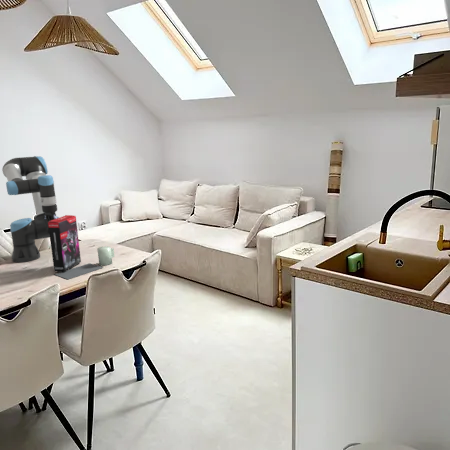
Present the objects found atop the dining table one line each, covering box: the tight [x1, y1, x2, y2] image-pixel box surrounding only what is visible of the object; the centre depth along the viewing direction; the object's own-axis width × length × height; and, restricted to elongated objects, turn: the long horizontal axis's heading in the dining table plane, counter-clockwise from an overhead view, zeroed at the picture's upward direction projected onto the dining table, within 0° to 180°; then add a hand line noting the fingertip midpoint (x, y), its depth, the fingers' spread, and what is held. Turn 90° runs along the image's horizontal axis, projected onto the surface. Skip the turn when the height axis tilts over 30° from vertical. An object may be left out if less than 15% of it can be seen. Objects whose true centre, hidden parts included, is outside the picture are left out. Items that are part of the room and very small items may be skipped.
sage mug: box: [96, 245, 115, 267], centre depth 234 cm, size 7×9×9 cm
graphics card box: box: [48, 214, 82, 273], centre depth 226 cm, size 17×7×27 cm, turn 169°
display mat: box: [54, 262, 104, 281], centre depth 223 cm, size 13×21×1 cm, turn 141°
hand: (55, 246), depth 233 cm, fingers closed
